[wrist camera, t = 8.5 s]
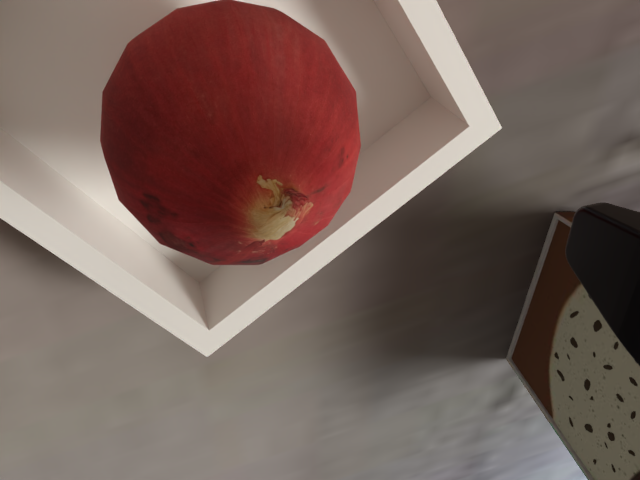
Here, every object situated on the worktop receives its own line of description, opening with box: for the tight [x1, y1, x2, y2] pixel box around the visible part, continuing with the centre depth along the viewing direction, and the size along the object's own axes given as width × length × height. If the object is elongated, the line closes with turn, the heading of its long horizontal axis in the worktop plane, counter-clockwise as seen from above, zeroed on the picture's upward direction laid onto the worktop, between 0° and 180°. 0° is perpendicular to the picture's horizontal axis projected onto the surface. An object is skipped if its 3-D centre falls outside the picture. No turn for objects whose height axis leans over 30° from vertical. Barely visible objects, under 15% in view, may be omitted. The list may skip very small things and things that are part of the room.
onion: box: [100, 0, 361, 265], centre depth 13 cm, size 6×6×8 cm
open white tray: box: [0, 0, 502, 357], centre depth 16 cm, size 12×12×4 cm
